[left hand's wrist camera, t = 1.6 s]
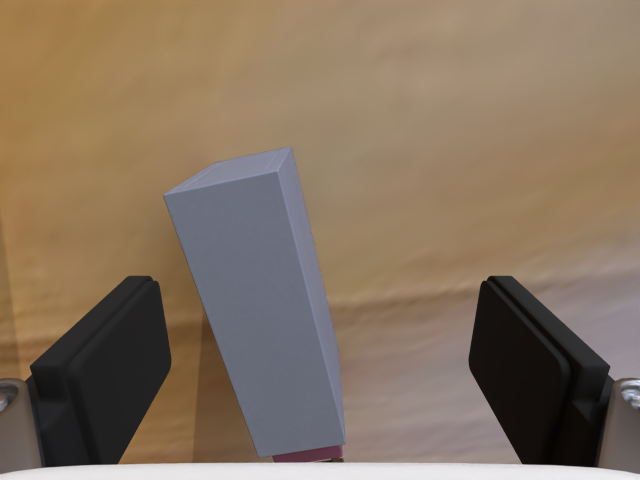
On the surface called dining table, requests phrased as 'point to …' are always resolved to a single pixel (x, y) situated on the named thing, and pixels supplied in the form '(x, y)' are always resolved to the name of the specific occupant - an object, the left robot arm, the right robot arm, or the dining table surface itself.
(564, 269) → the dining table surface
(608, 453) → the left robot arm
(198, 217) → the cabinet
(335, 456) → the drawer
